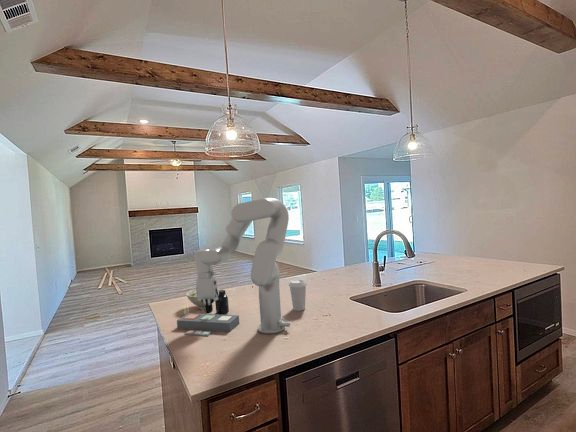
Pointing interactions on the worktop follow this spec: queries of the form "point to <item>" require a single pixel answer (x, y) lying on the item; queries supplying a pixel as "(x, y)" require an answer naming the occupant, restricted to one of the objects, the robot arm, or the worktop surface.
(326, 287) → the worktop surface
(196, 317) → the terracotta key
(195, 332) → the card
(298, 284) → the coffee cup
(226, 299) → the supplement bottle
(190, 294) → the bowl
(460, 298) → the worktop surface
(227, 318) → the cream key
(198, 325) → the keypad
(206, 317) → the sage key
